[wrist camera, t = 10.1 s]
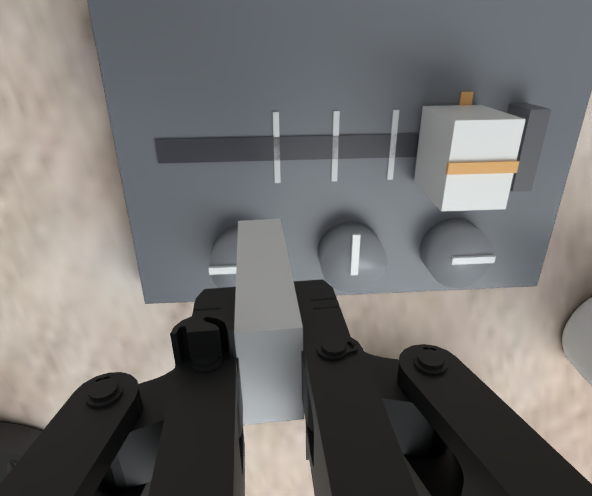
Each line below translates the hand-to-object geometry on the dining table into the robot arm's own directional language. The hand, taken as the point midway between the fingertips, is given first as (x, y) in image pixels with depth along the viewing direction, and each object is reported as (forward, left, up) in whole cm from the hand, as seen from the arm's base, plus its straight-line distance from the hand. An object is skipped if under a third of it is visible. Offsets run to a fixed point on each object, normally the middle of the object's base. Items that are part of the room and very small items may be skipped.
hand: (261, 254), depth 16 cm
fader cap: (+10, +2, -8) cm, 12 cm away
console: (+5, +1, -10) cm, 11 cm away
